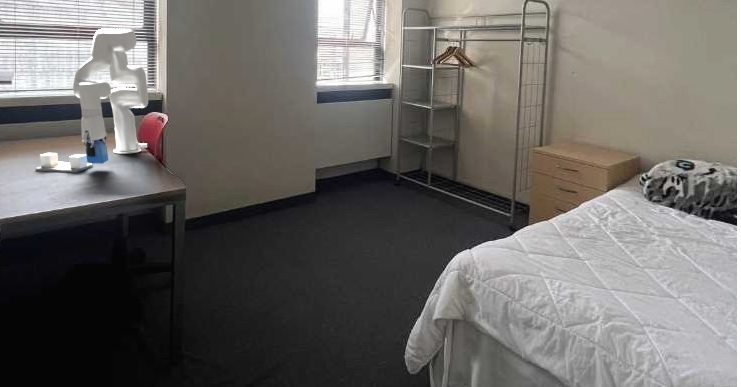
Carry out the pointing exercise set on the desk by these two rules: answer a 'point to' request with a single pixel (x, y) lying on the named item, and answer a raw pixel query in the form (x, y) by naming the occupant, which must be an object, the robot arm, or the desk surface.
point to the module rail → (63, 163)
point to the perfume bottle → (98, 153)
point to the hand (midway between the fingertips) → (97, 154)
